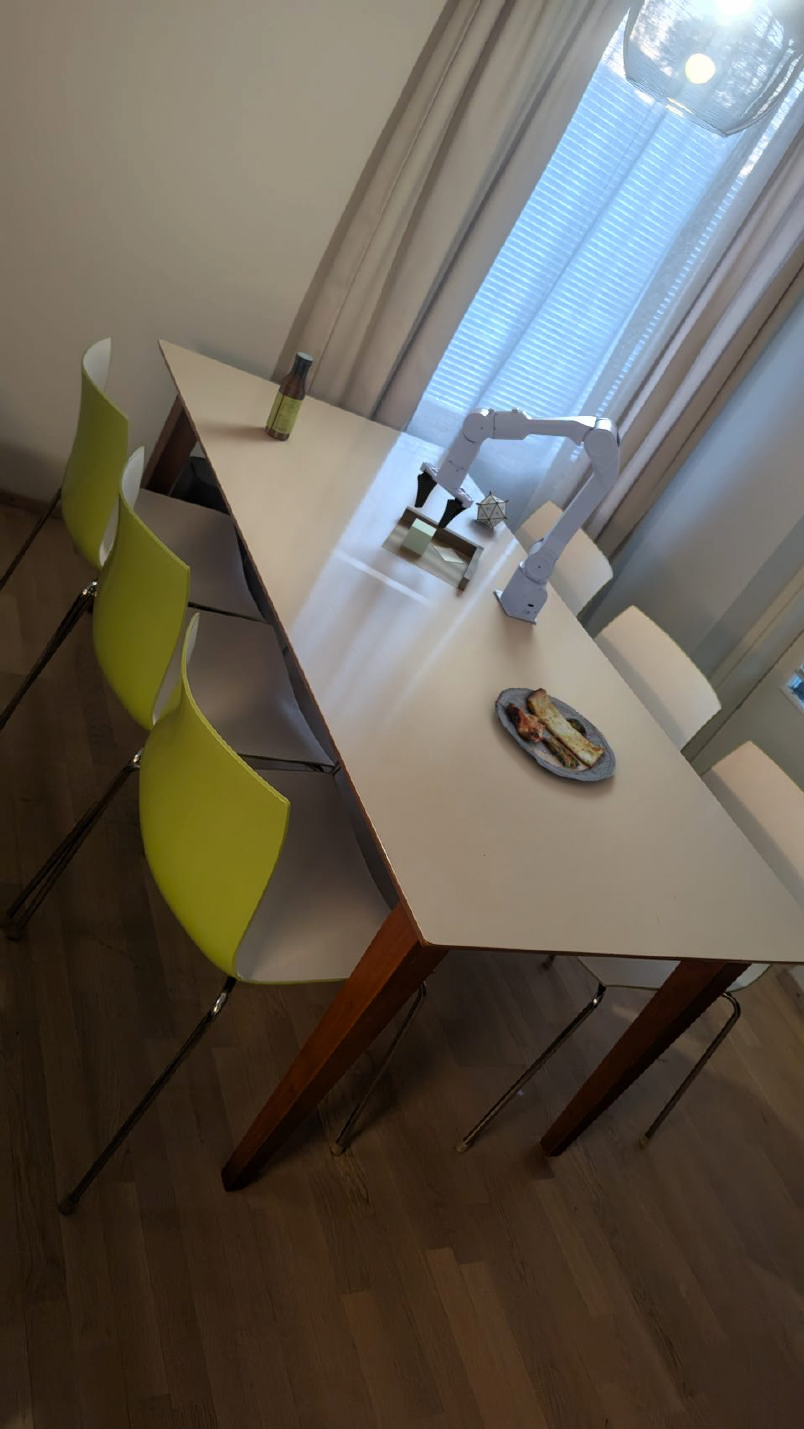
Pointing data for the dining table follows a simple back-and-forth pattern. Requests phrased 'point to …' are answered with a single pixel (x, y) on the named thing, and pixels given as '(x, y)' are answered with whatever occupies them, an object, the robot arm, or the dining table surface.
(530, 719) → the food plate
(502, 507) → the game die
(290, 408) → the sauce bottle
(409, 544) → the sage cube
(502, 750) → the dining table surface
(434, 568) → the arena
